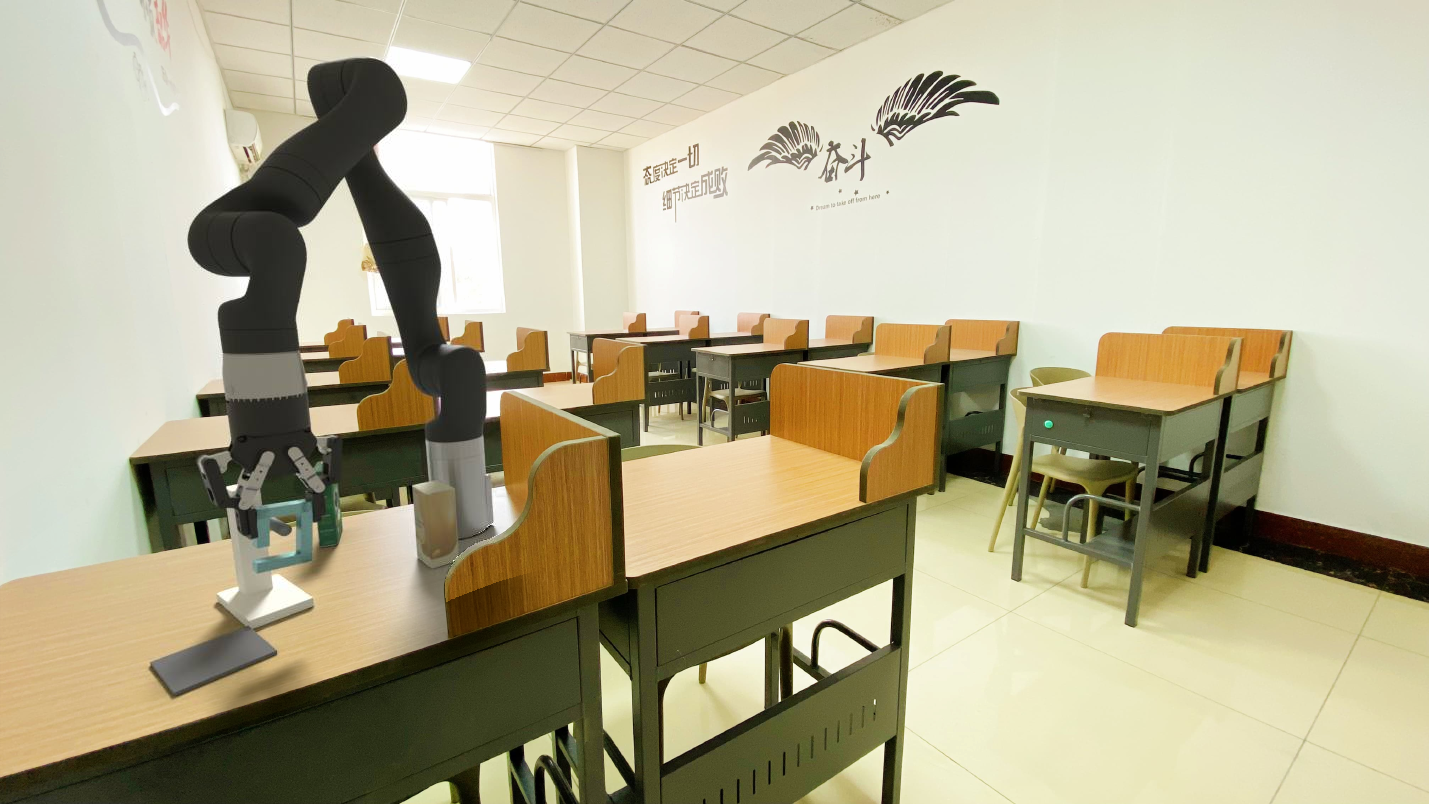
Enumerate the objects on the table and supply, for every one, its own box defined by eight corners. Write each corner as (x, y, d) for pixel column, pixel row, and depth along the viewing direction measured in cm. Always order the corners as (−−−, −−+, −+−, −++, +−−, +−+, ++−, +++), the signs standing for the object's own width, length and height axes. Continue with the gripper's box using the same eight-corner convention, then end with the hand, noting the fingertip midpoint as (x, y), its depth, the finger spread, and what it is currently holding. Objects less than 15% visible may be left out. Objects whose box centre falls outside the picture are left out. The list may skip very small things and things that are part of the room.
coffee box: (324, 531, 102) (316, 460, 100) (343, 528, 103) (336, 458, 101) (318, 548, 95) (309, 472, 93) (338, 545, 96) (330, 470, 94)
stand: (278, 581, 84) (264, 476, 81) (328, 616, 75) (315, 498, 72) (217, 601, 78) (200, 488, 75) (264, 641, 69) (246, 515, 66)
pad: (248, 628, 72) (248, 625, 72) (277, 653, 67) (276, 650, 67) (150, 665, 64) (150, 661, 64) (174, 696, 59) (173, 692, 59)
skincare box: (416, 557, 92) (410, 484, 90) (443, 549, 95) (438, 478, 93) (432, 570, 88) (426, 493, 86) (460, 561, 91) (455, 487, 89)
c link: (307, 557, 72) (307, 498, 72) (312, 561, 71) (312, 501, 71) (252, 569, 68) (252, 506, 67) (257, 573, 67) (257, 509, 66)
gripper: (323, 381, 74) (336, 505, 77) (175, 395, 63) (197, 541, 65) (349, 387, 70) (362, 518, 73) (195, 402, 58) (218, 557, 61)
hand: (284, 528), depth 69 cm, fingers closed on c link, 6 cm apart
